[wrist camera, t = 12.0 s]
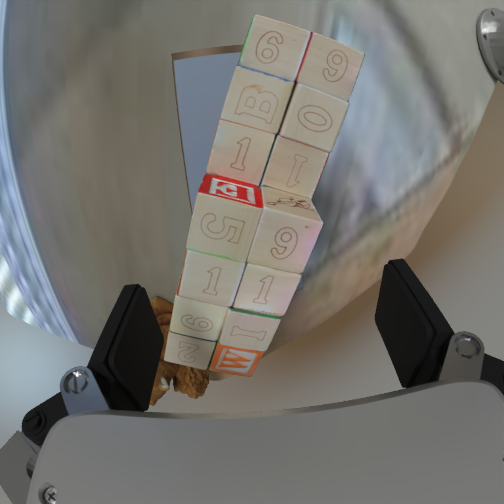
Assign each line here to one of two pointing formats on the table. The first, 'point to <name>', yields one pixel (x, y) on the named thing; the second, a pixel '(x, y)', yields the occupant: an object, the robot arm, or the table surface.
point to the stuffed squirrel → (183, 376)
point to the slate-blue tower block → (202, 110)
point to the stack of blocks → (259, 196)
